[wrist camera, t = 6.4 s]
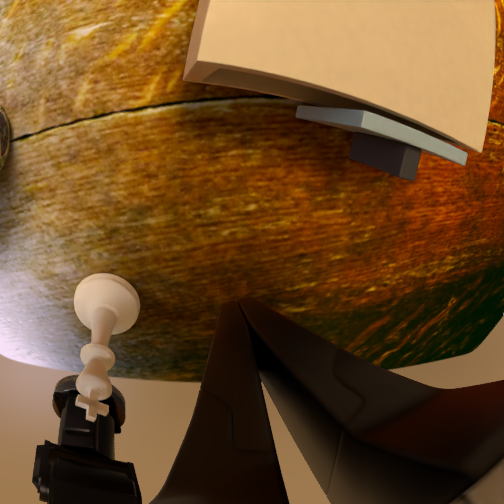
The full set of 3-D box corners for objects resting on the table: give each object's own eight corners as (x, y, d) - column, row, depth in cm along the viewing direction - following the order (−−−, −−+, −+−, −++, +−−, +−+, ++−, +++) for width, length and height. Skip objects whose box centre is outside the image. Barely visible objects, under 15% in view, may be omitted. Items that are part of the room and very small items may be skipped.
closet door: (386, 166, 21) (457, 195, 15) (289, 144, 19) (352, 167, 13) (393, 133, 20) (468, 153, 14) (297, 105, 18) (364, 110, 12)
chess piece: (122, 338, 22) (120, 451, 14) (65, 312, 20) (36, 422, 11) (151, 292, 21) (157, 408, 13) (89, 260, 19) (54, 370, 10)
